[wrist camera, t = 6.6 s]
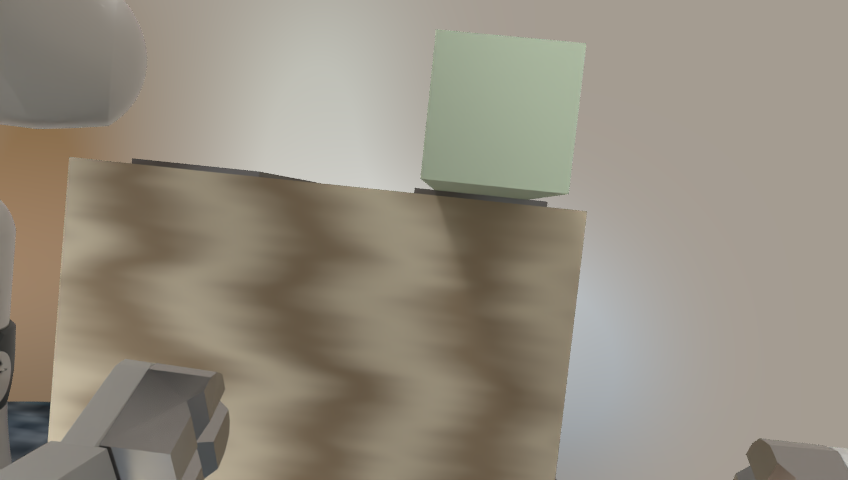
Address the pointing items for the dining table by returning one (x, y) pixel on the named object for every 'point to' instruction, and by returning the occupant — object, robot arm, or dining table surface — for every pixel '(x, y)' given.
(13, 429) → the dining table surface
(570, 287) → the stand
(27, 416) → the dining table surface
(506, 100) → the green block
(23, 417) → the dining table surface
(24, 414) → the dining table surface
